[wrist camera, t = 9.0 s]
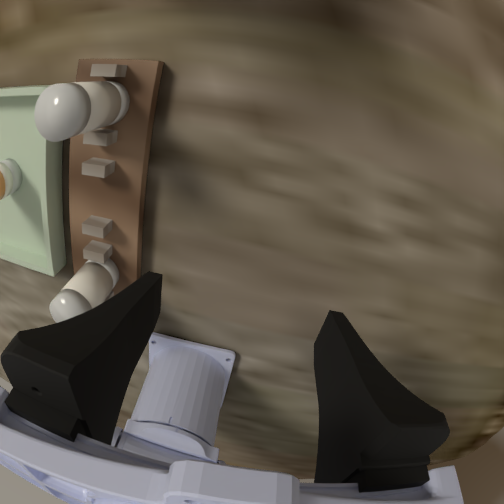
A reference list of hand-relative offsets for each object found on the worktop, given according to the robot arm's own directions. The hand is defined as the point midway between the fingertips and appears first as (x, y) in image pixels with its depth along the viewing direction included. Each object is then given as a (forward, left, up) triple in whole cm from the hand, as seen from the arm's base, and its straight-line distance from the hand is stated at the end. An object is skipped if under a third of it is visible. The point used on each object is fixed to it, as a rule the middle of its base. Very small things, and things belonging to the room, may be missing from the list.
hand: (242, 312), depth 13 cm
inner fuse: (-6, +11, -9) cm, 16 cm away
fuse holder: (0, +11, -10) cm, 15 cm away
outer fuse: (+6, +11, -9) cm, 16 cm away
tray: (0, +21, -10) cm, 23 cm away
